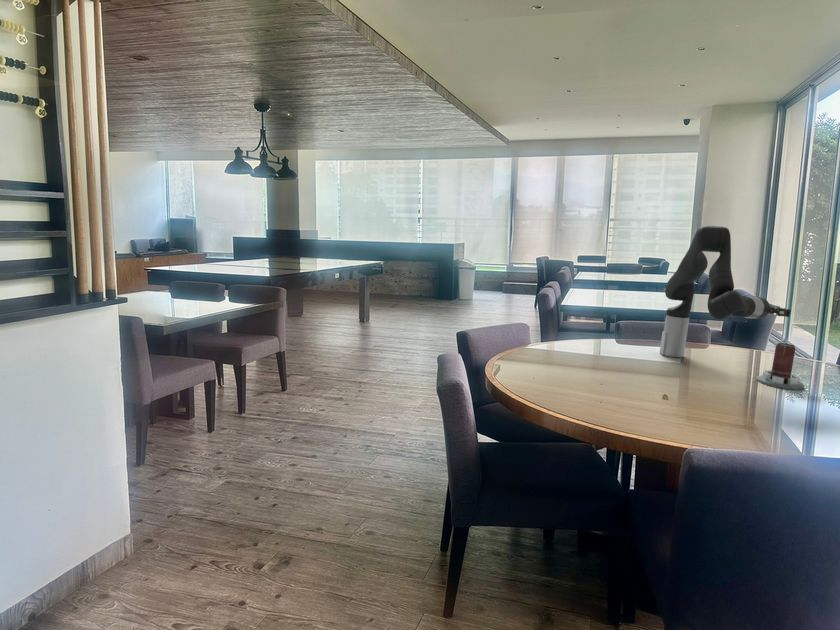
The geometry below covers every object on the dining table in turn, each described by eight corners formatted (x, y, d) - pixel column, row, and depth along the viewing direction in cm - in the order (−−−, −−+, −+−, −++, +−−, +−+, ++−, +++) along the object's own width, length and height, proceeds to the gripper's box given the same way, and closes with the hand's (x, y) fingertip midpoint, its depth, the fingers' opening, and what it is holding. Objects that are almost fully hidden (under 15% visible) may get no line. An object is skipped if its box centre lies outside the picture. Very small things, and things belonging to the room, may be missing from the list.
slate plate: (765, 386, 207) (765, 384, 207) (750, 376, 222) (751, 373, 222) (811, 391, 205) (811, 389, 204) (793, 380, 219) (793, 378, 219)
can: (770, 382, 211) (777, 344, 208) (769, 378, 216) (775, 341, 214) (790, 385, 208) (796, 347, 206) (788, 381, 214) (794, 344, 211)
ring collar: (769, 383, 209) (770, 376, 208) (758, 375, 220) (759, 369, 219) (803, 387, 206) (804, 380, 206) (790, 378, 217) (791, 372, 217)
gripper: (776, 300, 190) (800, 303, 199) (734, 292, 202) (758, 295, 210) (770, 323, 191) (794, 324, 200) (729, 313, 203) (753, 315, 212)
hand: (775, 309), depth 205 cm, fingers open, 8 cm apart
